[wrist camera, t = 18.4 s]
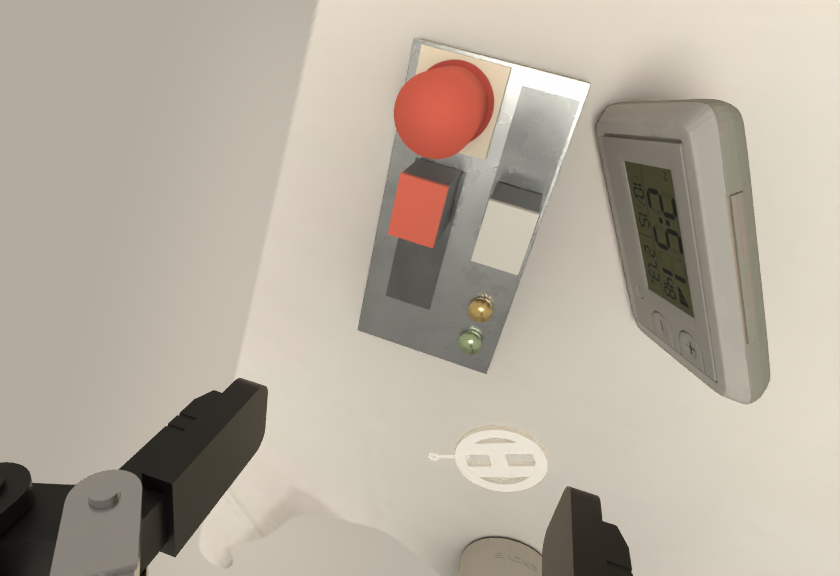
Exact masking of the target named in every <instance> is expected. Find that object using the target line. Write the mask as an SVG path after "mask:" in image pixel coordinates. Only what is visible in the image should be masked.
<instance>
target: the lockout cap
mask: <svg viewBox="0 0 840 576" xmlns="http://www.w3.org/2000/svg"><path fill="white" fill-rule="evenodd" d="M493 110H494V94H493V90H492V86H491V84H490V82H489V80H488V78H487V77H486V75H485V74H484V73H483V72H482V71H481V70H480V69H479V68H478V67H477V66H475V65H473V64H472V63H469V62H467V61H463V60H456V59H454V60H446V61H442V62H439V63H437V64H435V65H433V66H432V67H430V68H429V69H428V70H427V71H425V72H422V73H419V74H417V75H415V76H414V77H412V78H411V79H410V80H409V81H408V82H406V83H405V85H404V86H403V87H402V89H401V90H400V92H399V94H398V96H397V99H396V102H395V108H394V121H395V126H396V129H397V132H398V134H399V136H400V138H401V139H402V141H403V142H404V144H405V145H406V146H407V147H408V148H409V149H410V150H412V151H413V152H414V153H416V154H418V155H420V156H422V157H425V158H429V159H443V158H447V157H450V156H453V155H455V154H456V153H458V152H460V151H461V150H462V149H463V148H464V147H465V146H466V145H467V144H468V143H469V142H471V141H473V140H474V139H476V138H477V137H478V136H480V134H481V133H482V132H483V131H484V130H485V128H486V127H487V125H488V124H489V122H490V120H491V117H492V114H493Z"/></svg>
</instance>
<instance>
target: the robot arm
mask: <svg viewBox="0 0 840 576" xmlns="http://www.w3.org/2000/svg"><path fill="white" fill-rule="evenodd" d="M267 397H268V389H267V387H266V386H264V385H261V384H258V383H255V382H252V381H249V380H245V379H242V378H238V379H236V380H235V381H234V382H233V383H232V384H231V385H230V386H229V387H228V388H227V389H226V390H225V391H224V392H223V393H220V392H218V391H215V390H214V391H211V392H209V393H207V394H205V395H203V396H201V397H198V398H196V399H194V400H193V401H192V402H191V403H190V404H189V405H188V406H187V407H186V408H185V409H183V410H182V411H181V412H180V415H179V416H176V417H175V418H174V419H173V420H172V421H171V422H169V423H168V426H167V427H166V426H165V427H164V428H163V429H162V430H161V431H160V432H159V433H158V434H157V435H156V436H154V437H153V438H152V439H151V440H150V441H149V442H148V443H147V444H146V445H145V446H144V447H143V448H142V449H140V450H139V451H138V452H137V453H136V454H135V455H134V456H133V457H132V458H131V459H130V460H129V461H127V462H126V463H125V464H124V465H123V466H122V467H121V468H120V469H118V470H106V471H102V472H99V473H95V474H93V475H91V476H88V477H87V478H85V479H83V480H82V481H80V482H79V483H78V484H76V485H63V484H42V483H32V480H31V475H30V472H29V471H28V469H27V468H25V467H24V466H22V465H19V464H16V463H8V462H4V463H0V576H148V565H149V564H150V562H151V561H152V560H153V559H154V558H155V556H156V555H157V554H158V552H159V551H160V552H163V553H166V554H168V555H171V556H173V557H176V556H177V554H178V553H179V552H180V550H181V549H182V548H183V546H184V545H185V544H186V543H187V541H188V540H189V539H190V537H191V536H192V535H193V533H194V532H195V531H196V530H197V528H198V527H199V526H200V524H201V523H202V522H203V521H204V519H205V518H206V517H207V515H208V514H209V513H210V511H211V510H212V509H213V508H214V506H215V505H216V504H217V502H218V501H219V500H220V498H221V497H222V496H223V495H224V493H225V492H226V491H227V489H228V488H229V487H230V486H231V484H232V483H233V482H234V480H235V479H236V478H237V476H238V475H239V474H240V473H241V471H242V470H243V469H244V467H245V466H246V465H247V463H248V462H249V461H250V460H251V458H252V457H253V456H254V454H255V453H256V452H257V450H258V448H259V446H260V444H261V442H262V440H263V437H264V433H265V425H266V411H267ZM631 571H632V567H631V560H630V554H629V547H628V546H627V544H626V542H625V540H624V538H623V536H622V535H621V533H620V531H619V529H618V527H617V526H616V525H613V524H610V523H607V522H604V521H602V512H601V503H600V498H599V497H598V496H597V495H593V494H590V493H587V492H584V491H581V490H578V489H575V488H572V487H569V486H567V487H566V488H565V490H564V492H563V494H562V497H561V499H560V501H559V503H558V505H557V508H556V510H555V512H554V514H553V517H552V519H551V521H550V523H549V526H548V528H547V531H546V534H545V538H544V544H543V551H542V556H541V555H540V554H538V553H537V552H536V551H534V550H533V549H531V548H530V547H528V546H526V545H524V544H522V543H520V542H516V541H513V540H510V539H503V538H486V539H480V540H478V541H475V542H473V543H471V544H470V545H468V546H467V547H466V549H465V550H464V551H463V553H462V556H461V559H460V564H459V569H458V574H457V576H633V574H632V573H631Z"/></svg>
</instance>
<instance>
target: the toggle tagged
mask: <svg viewBox="0 0 840 576" xmlns="http://www.w3.org/2000/svg"><path fill="white" fill-rule="evenodd" d="M461 172H462V171H459V170H455V169H452V168H448V167H445V166H442V165H438V164H435V163H431V162H428V161H424V160H421V159H418V160H417V161H416V162H414V163H413V164H412V165H410V166H409V167H408V168H407V169H405V170H404V171H403V172H401V173H400V177H399V182H398V187H397V192H396V196H395V201H394V206H393V211H392V216H391V221H390V226H389V231H388V235H392V236H395V237H398V238H401V239H404V240H408V241H411V242H414V243H417V244H420V245H423V246H427V247H430V248H433V247H434V246H435V244H436V243H437V241H438V240H439V238H440V237H441V235H442V233H443V232H444V230H445V229H446V227H447V225H448V221H449V218H450V214H451V210H452V206H453V202H454V199H455V195H456V191H457V187H458V183H459V180H460V176H461Z"/></svg>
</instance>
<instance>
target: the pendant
mask: <svg viewBox="0 0 840 576" xmlns="http://www.w3.org/2000/svg"><path fill="white" fill-rule="evenodd" d="M489 438H503V439H498V440H484V439H489ZM507 454H532V455H533V458H534V460H535V462H512V463H509V462H508V458H507ZM432 455H434V456H435V458H433V457H432ZM470 455H489V458H490V462H491V463H469V461H468V460H469V458H470ZM428 457H429V459H430V460H432V461H436V460H438V459H439V458H455V463H456V465H457V467H458V469H459V471H460V472H461V473H462V474H463V475H464V476H465V477H466V478H467V479H469V480H470V481H471V482H473V483H474V484H477V485H479V486H481V487H483V488H486V489H490V490H494V491H502V492H513V491H521V490H524V489H528V488H530V487H532V486H534V485H536V484H538V483H539V482H540V481H541V480H542V479H543V477H544V476H545V473H546V471H547V454H546V452H545V450H544V448H543V447H542V445H541V444H540V443H539V442H538V441H537V440H536V439H535V438H533V437H532V436H530V435H529V434H527V433H525V432H523V431H520V430H518V429H515V428H510V427H506V426H486V427H480V428H477V429H474V430H472V431H470V432H468V433H467V434H465V435H464V436H463V437H462V438H461V439H460V441H459V442H458V444H457V447H456V451H455V455H438V454H437V453H435V452H430V453H429V454H428ZM490 477H521V478H517V479H512V480H500V479H494V478H490Z"/></svg>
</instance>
